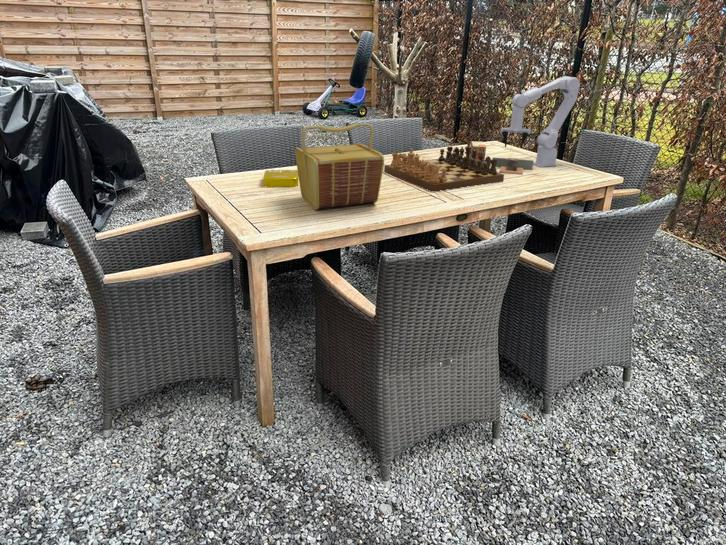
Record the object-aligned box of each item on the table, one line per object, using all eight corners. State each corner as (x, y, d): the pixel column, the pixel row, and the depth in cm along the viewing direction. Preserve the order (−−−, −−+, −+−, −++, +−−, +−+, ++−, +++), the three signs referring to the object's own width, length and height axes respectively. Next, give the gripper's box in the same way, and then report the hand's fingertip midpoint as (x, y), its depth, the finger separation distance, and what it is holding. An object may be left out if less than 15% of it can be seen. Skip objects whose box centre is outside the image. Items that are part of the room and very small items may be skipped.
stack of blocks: (466, 161, 274) (469, 137, 269) (478, 161, 274) (481, 138, 269) (470, 170, 255) (473, 145, 250) (483, 171, 255) (486, 146, 249)
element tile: (263, 188, 222) (262, 177, 220) (265, 179, 236) (265, 169, 234) (298, 187, 224) (297, 177, 222) (298, 178, 237) (298, 168, 235)
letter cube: (516, 168, 256) (518, 158, 254) (516, 170, 252) (517, 160, 250) (506, 167, 258) (507, 157, 256) (506, 170, 253) (507, 159, 251)
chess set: (432, 193, 219) (435, 158, 213) (384, 172, 251) (385, 142, 245) (503, 182, 237) (507, 150, 231) (449, 164, 269) (452, 135, 262)
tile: (522, 169, 258) (523, 167, 258) (522, 174, 249) (522, 173, 248) (500, 167, 261) (500, 166, 261) (499, 172, 252) (499, 171, 251)
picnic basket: (314, 215, 189) (311, 132, 176) (294, 196, 210) (290, 121, 197) (385, 207, 199) (388, 128, 187) (359, 189, 221) (360, 117, 208)
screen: (532, 169, 259) (533, 160, 257) (532, 169, 258) (533, 161, 256) (491, 166, 264) (492, 157, 262) (491, 166, 263) (492, 157, 261)
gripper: (501, 120, 255) (498, 147, 261) (532, 121, 251) (528, 149, 257) (502, 118, 261) (499, 145, 267) (532, 119, 257) (528, 147, 263)
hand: (513, 147), depth 262 cm, fingers open, 7 cm apart
